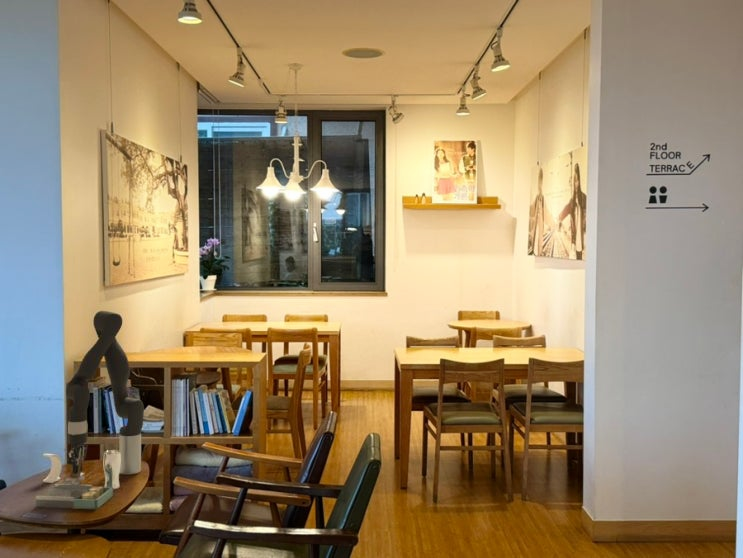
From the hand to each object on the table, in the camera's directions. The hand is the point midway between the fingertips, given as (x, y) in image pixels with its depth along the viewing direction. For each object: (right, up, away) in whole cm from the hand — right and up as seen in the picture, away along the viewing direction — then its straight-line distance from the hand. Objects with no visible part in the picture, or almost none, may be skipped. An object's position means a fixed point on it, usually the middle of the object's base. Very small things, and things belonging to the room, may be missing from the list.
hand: (77, 472), depth 288 cm
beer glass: (+14, -7, +1) cm, 16 cm away
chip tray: (+13, -7, -16) cm, 22 cm away
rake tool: (-1, -5, 0) cm, 5 cm away
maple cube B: (+11, -5, -19) cm, 23 cm away
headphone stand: (-15, -6, +9) cm, 18 cm away
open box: (+1, -7, -15) cm, 17 cm away
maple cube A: (+11, -5, -13) cm, 18 cm away
